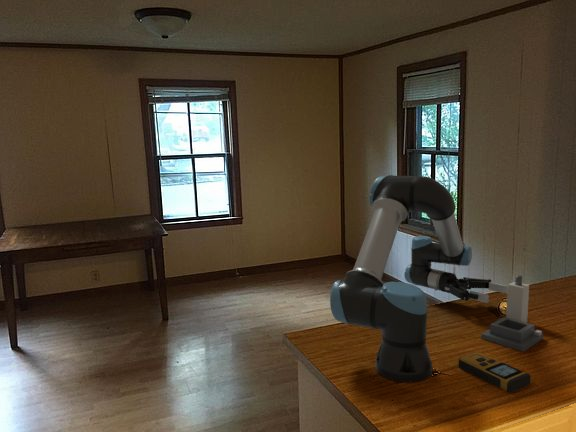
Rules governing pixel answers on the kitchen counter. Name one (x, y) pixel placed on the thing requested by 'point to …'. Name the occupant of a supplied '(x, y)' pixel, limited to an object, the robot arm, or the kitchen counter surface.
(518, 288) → the plug
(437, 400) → the kitchen counter surface
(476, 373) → the electronic device
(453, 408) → the kitchen counter surface
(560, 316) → the kitchen counter surface
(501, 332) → the socket
